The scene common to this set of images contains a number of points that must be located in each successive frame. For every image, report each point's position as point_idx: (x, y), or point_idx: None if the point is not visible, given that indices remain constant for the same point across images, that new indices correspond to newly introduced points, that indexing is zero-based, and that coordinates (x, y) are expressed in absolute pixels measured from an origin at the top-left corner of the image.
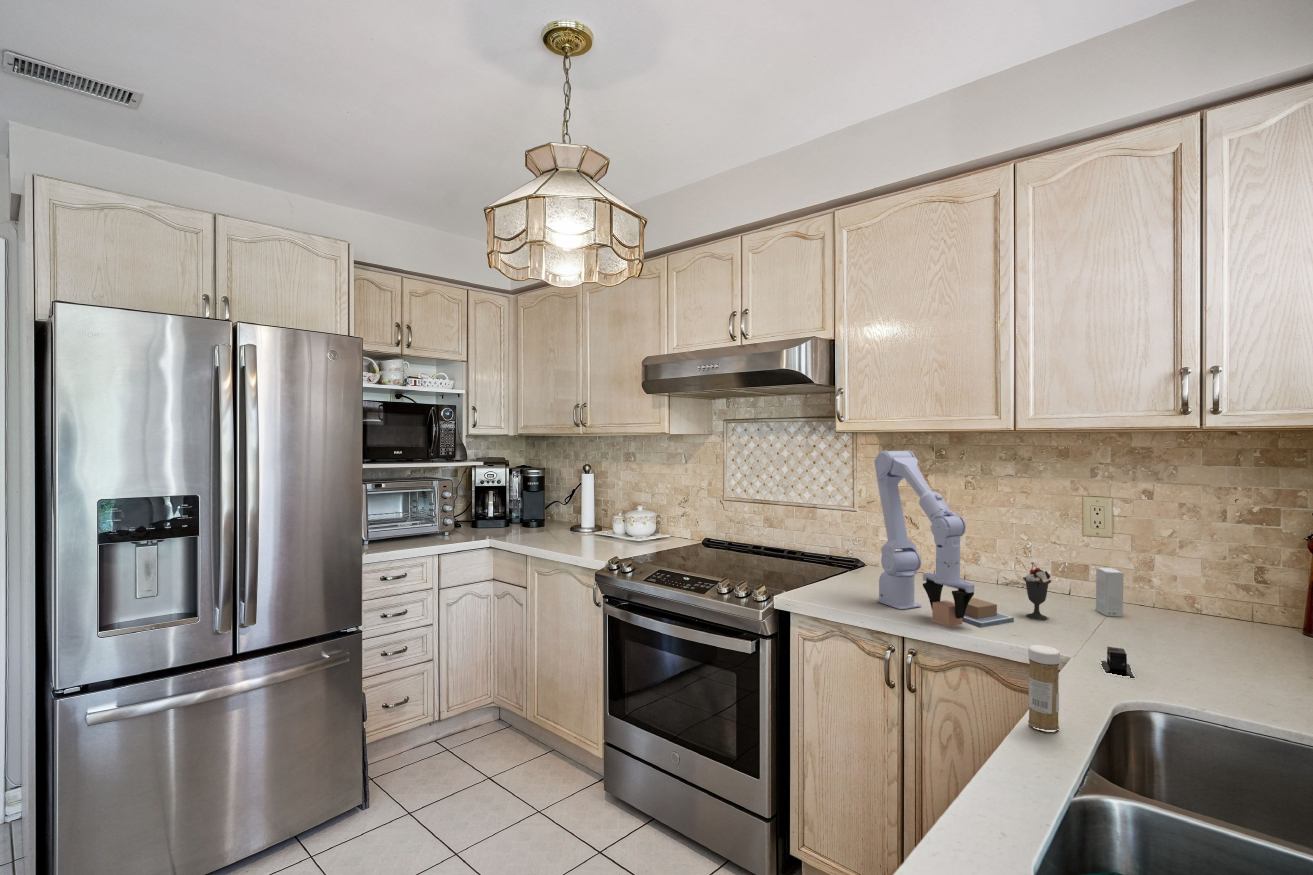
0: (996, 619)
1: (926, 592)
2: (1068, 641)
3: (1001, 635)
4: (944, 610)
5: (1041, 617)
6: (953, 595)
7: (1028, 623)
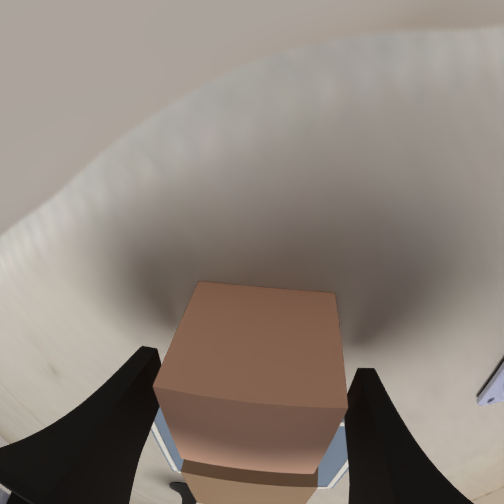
0: (164, 445)
1: (439, 471)
2: (25, 398)
3: (49, 344)
4: (207, 362)
5: (175, 488)
6: (56, 474)
7: (152, 462)
